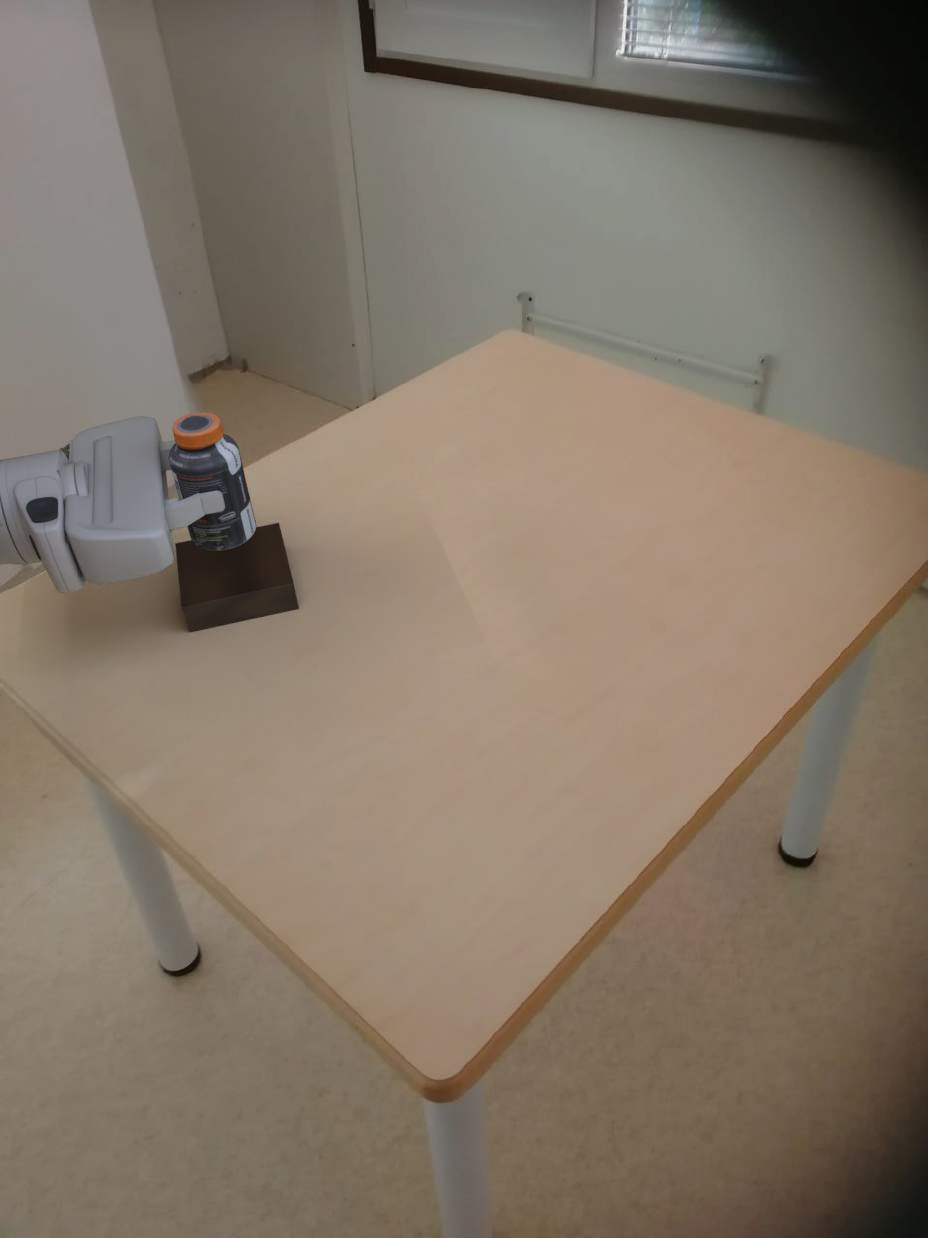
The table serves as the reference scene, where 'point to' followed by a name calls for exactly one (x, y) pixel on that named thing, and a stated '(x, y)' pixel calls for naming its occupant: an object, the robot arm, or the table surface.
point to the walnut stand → (235, 580)
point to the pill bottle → (212, 480)
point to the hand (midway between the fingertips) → (219, 474)
